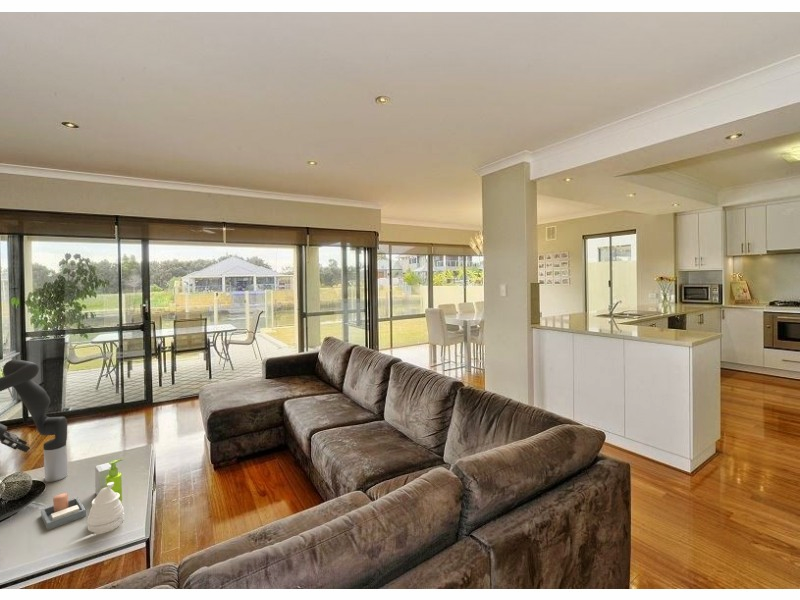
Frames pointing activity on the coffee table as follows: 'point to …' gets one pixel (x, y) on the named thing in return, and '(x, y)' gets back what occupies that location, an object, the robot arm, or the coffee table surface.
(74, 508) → the cream rectangular block
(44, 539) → the coffee table surface
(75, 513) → the tray
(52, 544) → the coffee table surface
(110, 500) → the honey pot
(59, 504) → the peach rounded ovoid
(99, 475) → the skincare box
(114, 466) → the soap dispenser
